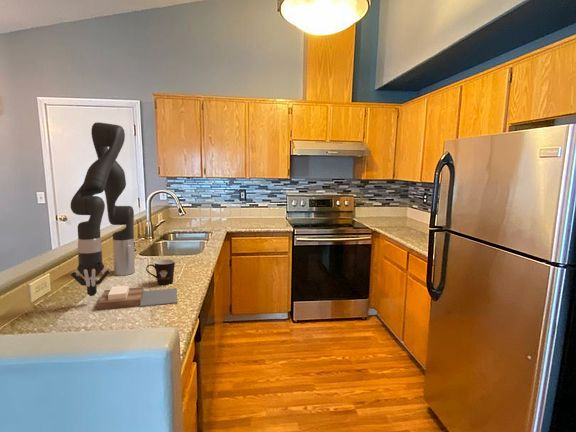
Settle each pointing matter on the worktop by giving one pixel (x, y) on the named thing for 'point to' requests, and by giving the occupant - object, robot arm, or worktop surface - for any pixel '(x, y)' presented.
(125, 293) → the cream rectangular block
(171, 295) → the mat
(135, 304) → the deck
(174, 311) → the worktop surface
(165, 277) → the coffee mug
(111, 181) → the robot arm
